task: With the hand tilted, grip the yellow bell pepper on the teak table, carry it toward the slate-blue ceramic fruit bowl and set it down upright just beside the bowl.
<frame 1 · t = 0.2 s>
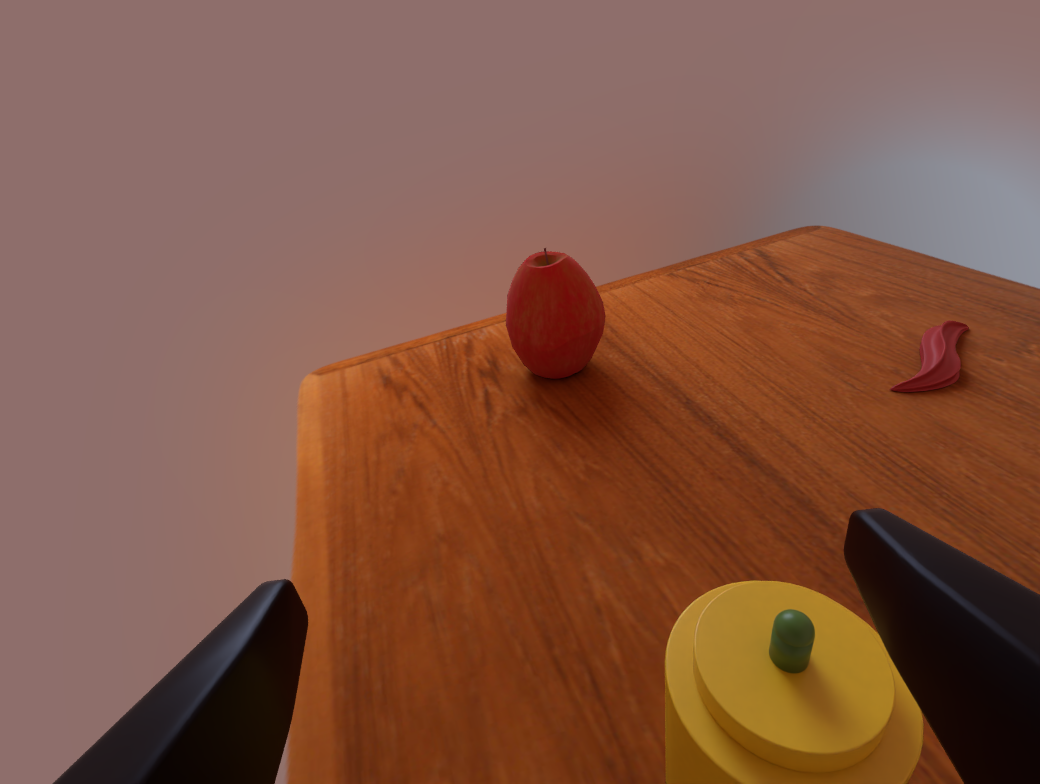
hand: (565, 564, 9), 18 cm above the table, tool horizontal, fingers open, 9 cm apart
apple: (560, 368, 50), on the table
cayenne pepper: (936, 361, 43), on the table
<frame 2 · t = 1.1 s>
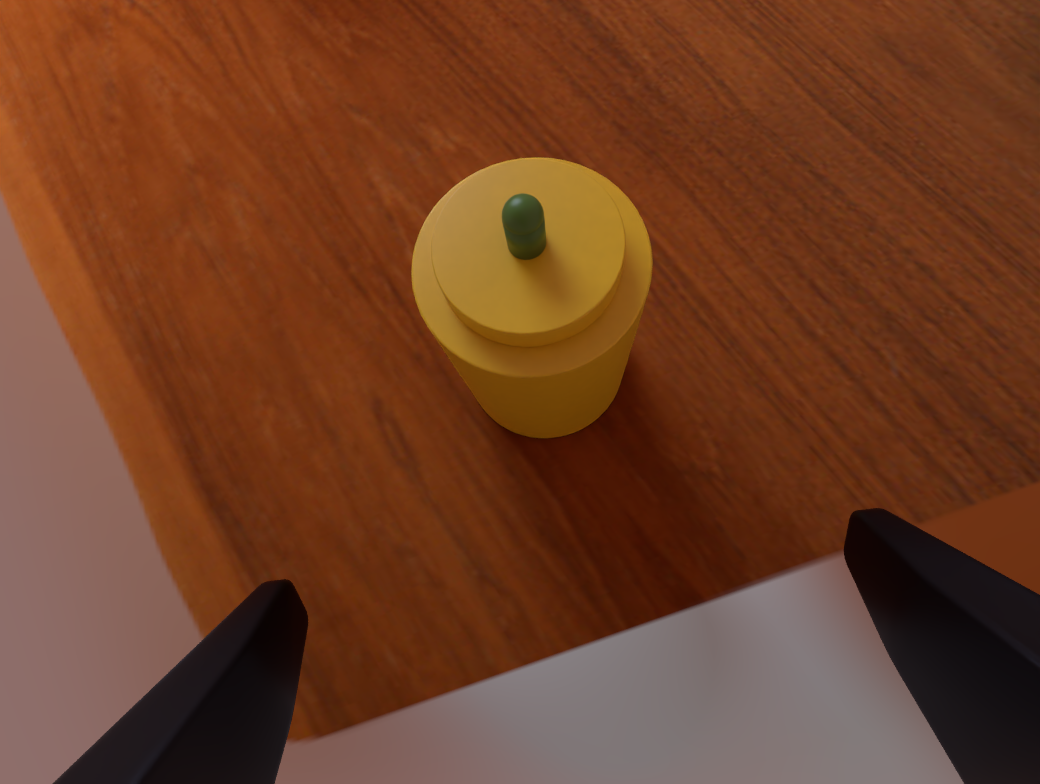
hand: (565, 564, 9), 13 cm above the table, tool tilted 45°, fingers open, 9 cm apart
pepper: (544, 362, 24), on the table
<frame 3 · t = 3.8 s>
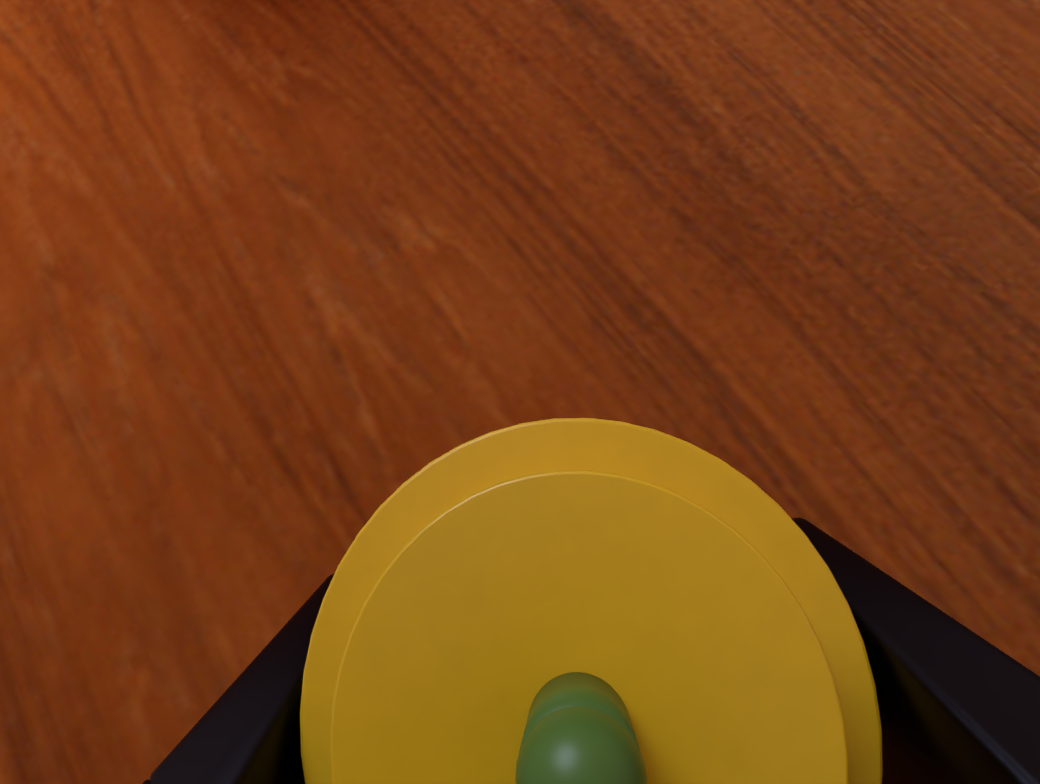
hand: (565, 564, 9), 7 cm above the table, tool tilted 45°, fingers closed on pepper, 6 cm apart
pepper: (574, 607, 15), on the table, touching gripper
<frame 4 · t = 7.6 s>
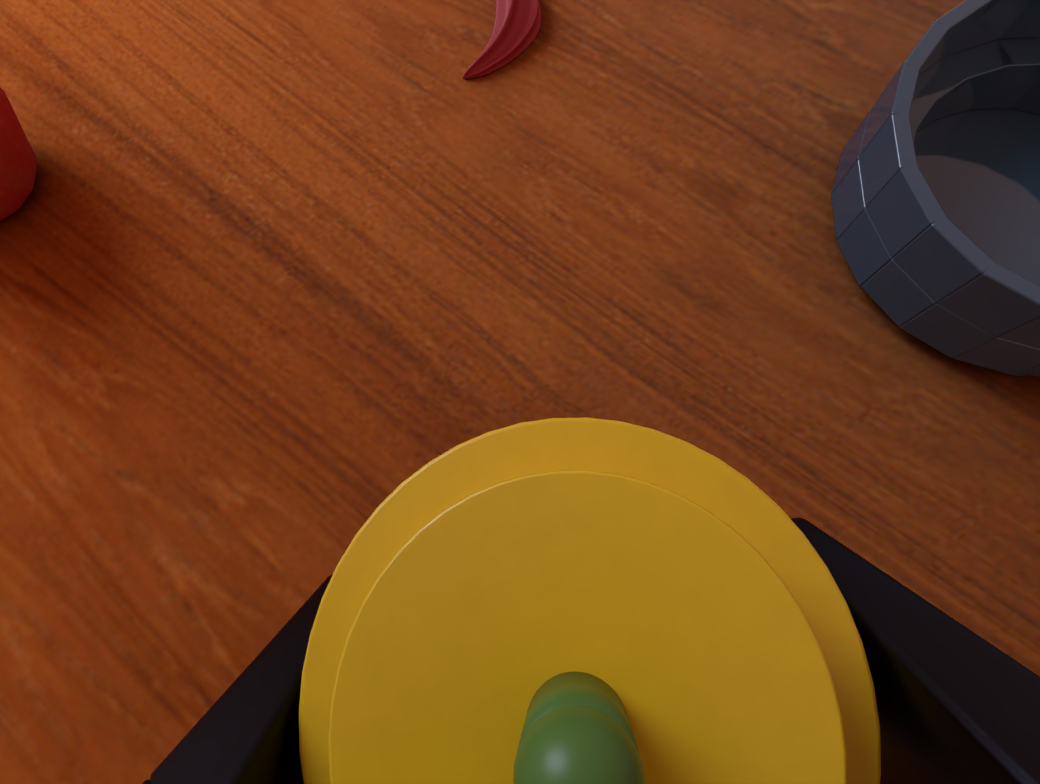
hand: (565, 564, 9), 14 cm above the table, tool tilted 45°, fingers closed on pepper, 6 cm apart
pepper: (573, 607, 15), point 7 cm above the table, touching gripper
apple: (4, 186, 30), on the table
bowl: (999, 221, 24), on the table
when the fingers open (7 cm above the table, at t = 11.2 s): pepper stays where it is, on the table.
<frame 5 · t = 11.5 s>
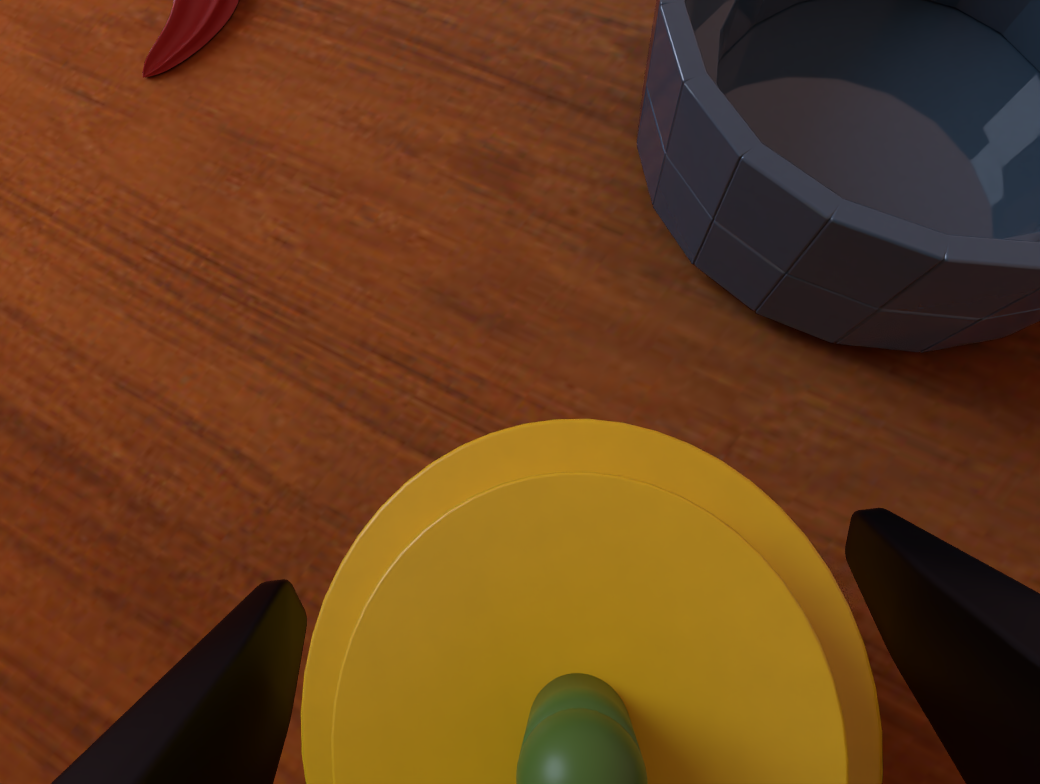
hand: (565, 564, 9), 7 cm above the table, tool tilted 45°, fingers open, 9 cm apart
pepper: (574, 608, 15), on the table
bowl: (865, 142, 18), on the table
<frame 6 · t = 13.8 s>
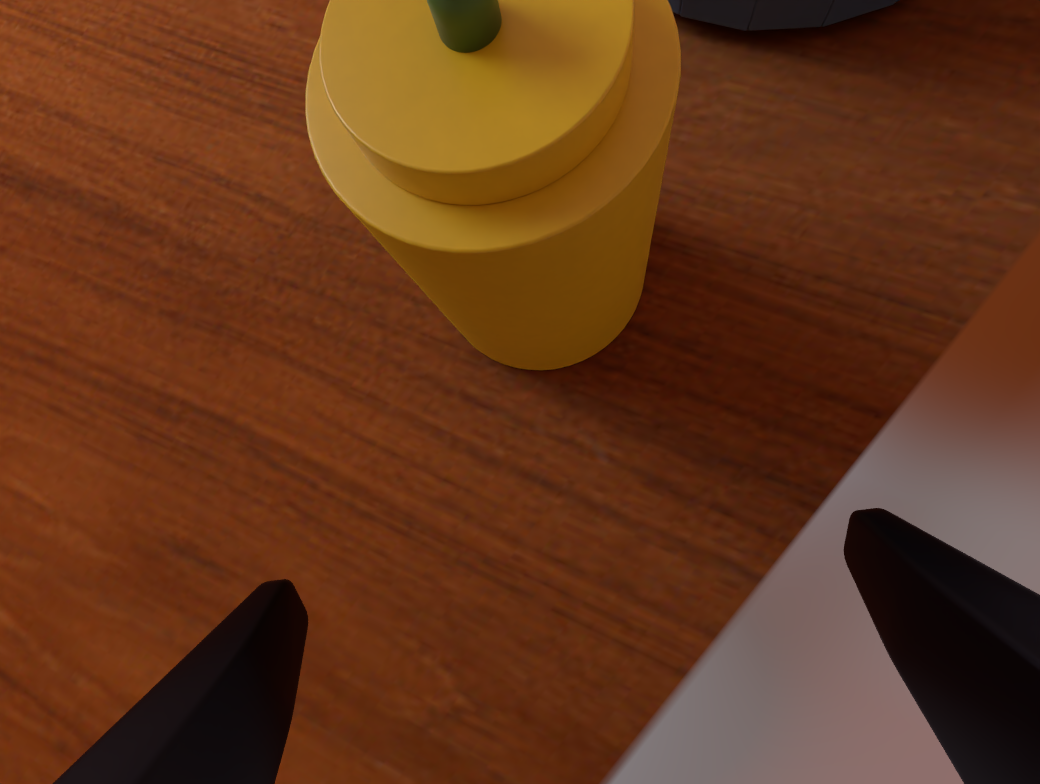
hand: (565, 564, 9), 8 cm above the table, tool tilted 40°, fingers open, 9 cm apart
pepper: (541, 272, 18), on the table
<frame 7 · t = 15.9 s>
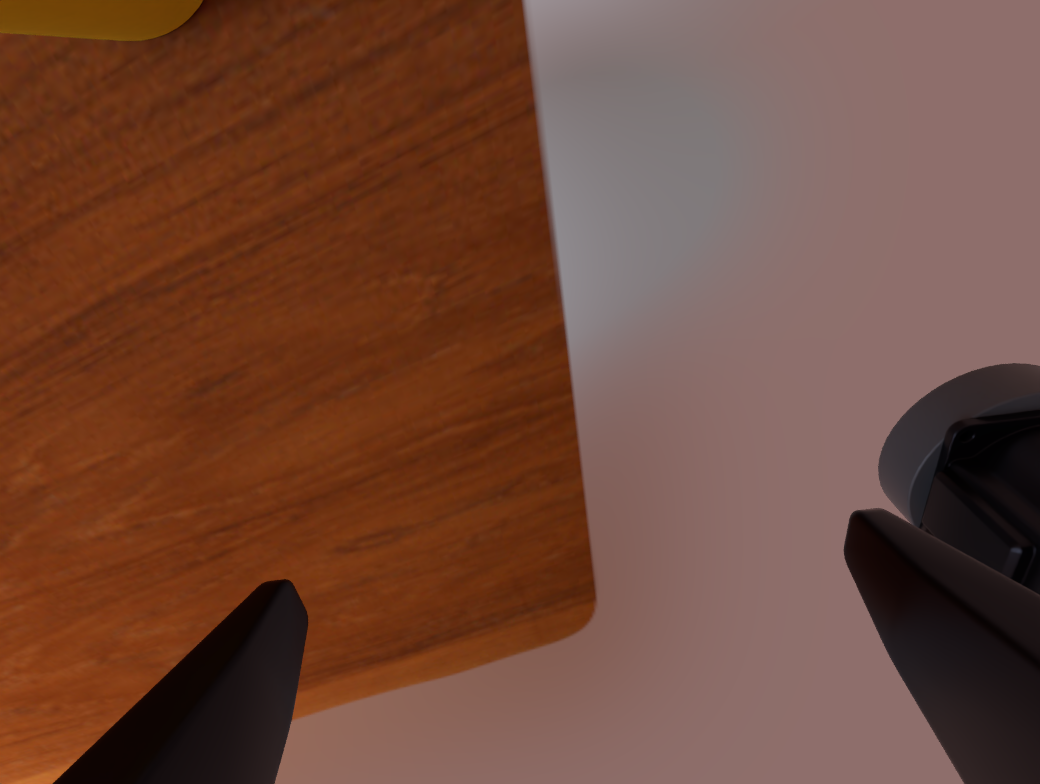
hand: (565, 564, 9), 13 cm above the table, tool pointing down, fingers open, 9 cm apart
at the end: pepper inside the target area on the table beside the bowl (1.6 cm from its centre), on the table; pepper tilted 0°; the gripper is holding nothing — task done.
